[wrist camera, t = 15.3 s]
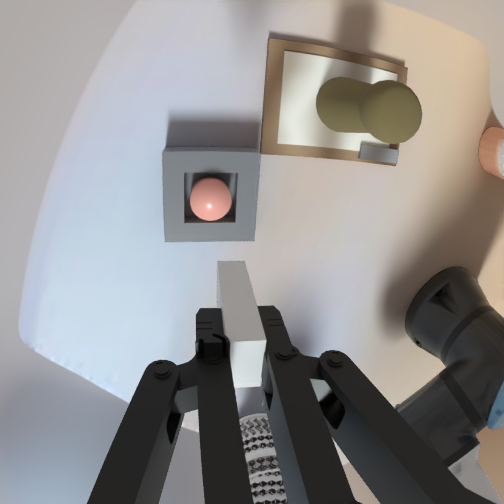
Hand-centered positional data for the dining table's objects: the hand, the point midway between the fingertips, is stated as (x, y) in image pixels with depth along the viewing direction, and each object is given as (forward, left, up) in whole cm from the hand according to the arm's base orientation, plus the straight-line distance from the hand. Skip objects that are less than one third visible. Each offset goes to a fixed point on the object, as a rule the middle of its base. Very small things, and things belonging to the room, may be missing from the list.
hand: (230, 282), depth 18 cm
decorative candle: (-8, +43, -17) cm, 47 cm away
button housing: (0, 0, -17) cm, 17 cm away
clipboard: (-13, -10, -17) cm, 24 cm away
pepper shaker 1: (-13, -10, -16) cm, 23 cm away
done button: (0, 0, -16) cm, 16 cm away
